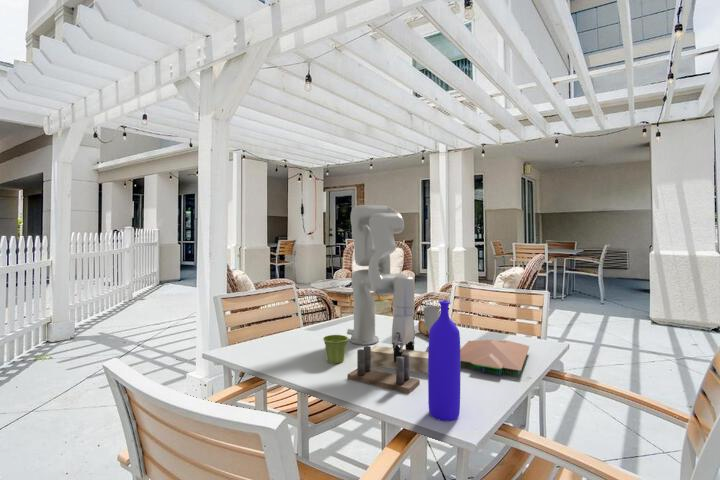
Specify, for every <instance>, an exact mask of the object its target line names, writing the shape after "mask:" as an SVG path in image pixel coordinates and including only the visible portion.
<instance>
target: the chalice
mask: <svg viewBox="0 0 720 480" xmlns="http://www.w3.org/2000/svg"><path fill="white" fill-rule="evenodd" d="M422 309H423V319H424V321H425V324H426V326H427V329H428V330H429V331H430V328H431V327H432V325H433V324H434V323H435V322H436V321H437V320H438V318H439V317H440V313H439V312H440V311H441V306H440V307H439V306H435V305H426V306H422ZM428 350H429V345H428V346H427V347H426V349H425V351H424V352H428Z"/></svg>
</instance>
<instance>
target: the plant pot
mask: <svg viewBox="0 0 720 480" xmlns="http://www.w3.org/2000/svg"><path fill="white" fill-rule="evenodd" d="M322 340H323V342H324V345H325V352H326V353H325V354H326V360H327V362H328V363H329V364H334V365H336V364H342V363H343V362H344V360H345V355H346V354H345V353H346V346H347V342H348V341H349V337H348V336H347V335H341V334H330V335H326V336H324V337H323V339H322Z"/></svg>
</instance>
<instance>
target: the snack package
mask: <svg viewBox="0 0 720 480" xmlns="http://www.w3.org/2000/svg"><path fill="white" fill-rule="evenodd" d="M417 328H418V332H419V333H421V334H423V335H425V336H427V337H429V330H428V329H427V326H426V324H425V321H424V318H422V319H420V320H419V321H418V324H417Z"/></svg>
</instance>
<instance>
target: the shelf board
mask: <svg viewBox="0 0 720 480" xmlns="http://www.w3.org/2000/svg"><path fill="white" fill-rule="evenodd" d="M402 352H403V353H408V354H409V372H414V373H415V372H416V373H422V374H423V373H424V374H428V352H425V351H422V350H420V351H419V350H414V351H413V350H406V348H404V349H403V348H402ZM372 366H373V367H374V366H375V367H380V368H381V367H382V368H388V369H395V370H396V362H394V351H393V347H388V346H380V345H375V346H373V347H371V367H372Z"/></svg>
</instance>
